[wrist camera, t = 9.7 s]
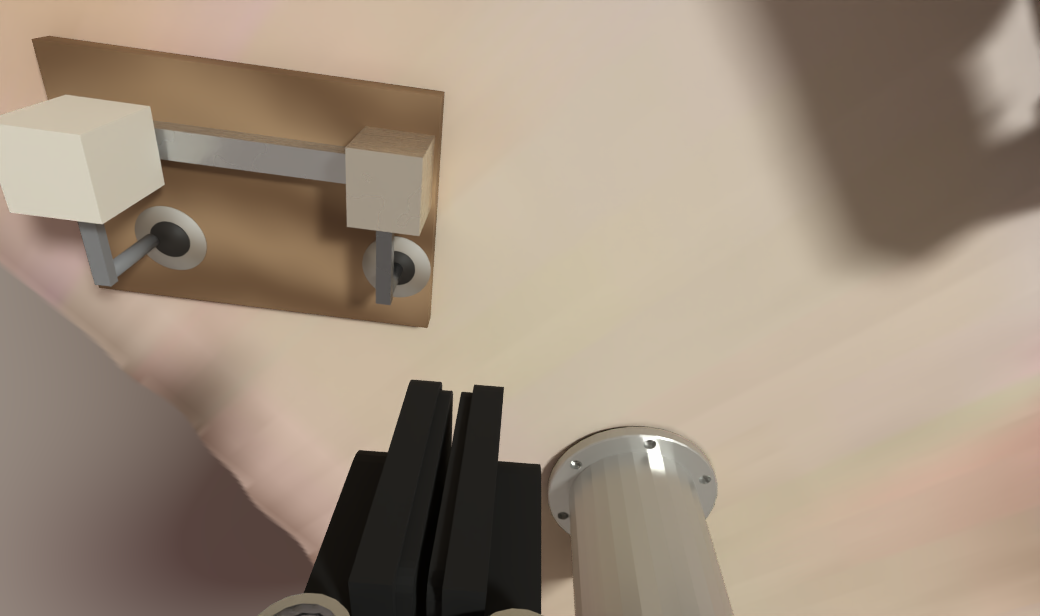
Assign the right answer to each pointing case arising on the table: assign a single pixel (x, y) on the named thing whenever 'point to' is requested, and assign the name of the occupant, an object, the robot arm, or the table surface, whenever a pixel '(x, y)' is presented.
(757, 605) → the table surface
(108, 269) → the sliding leg
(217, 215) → the hole board
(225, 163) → the beam
